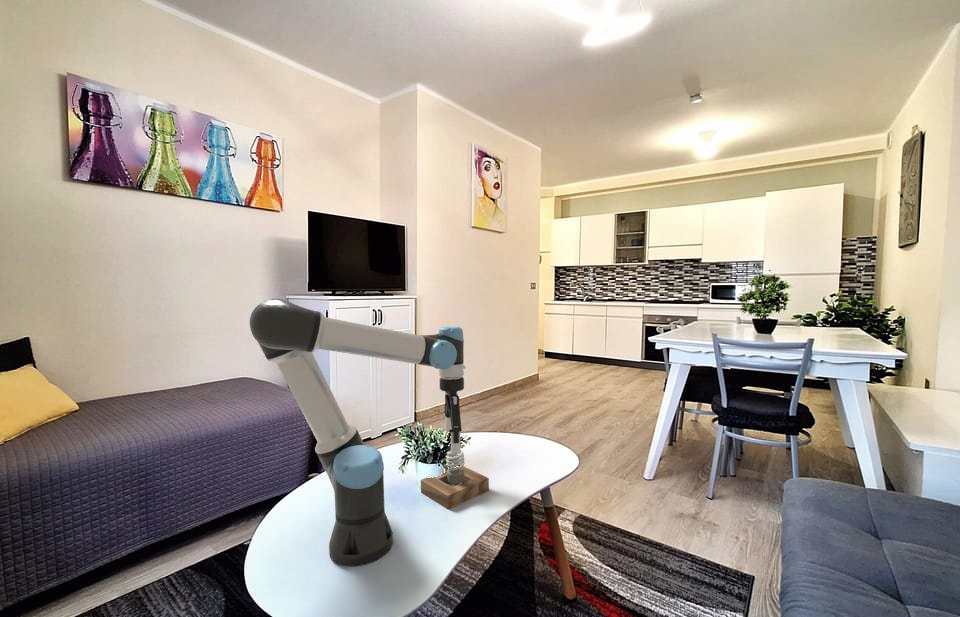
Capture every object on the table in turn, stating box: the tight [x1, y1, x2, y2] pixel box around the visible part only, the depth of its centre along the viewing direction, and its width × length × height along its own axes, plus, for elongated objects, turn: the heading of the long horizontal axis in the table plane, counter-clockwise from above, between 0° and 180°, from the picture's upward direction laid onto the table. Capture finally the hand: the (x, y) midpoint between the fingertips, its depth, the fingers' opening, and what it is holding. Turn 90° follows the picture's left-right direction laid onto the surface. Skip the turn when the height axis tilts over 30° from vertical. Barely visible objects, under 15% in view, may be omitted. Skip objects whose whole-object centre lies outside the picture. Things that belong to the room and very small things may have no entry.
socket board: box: [420, 465, 490, 510], centre depth 130 cm, size 16×14×4 cm
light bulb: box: [445, 450, 465, 487], centre depth 130 cm, size 6×6×12 cm
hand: (452, 445), depth 129 cm, fingers open, 13 cm apart
